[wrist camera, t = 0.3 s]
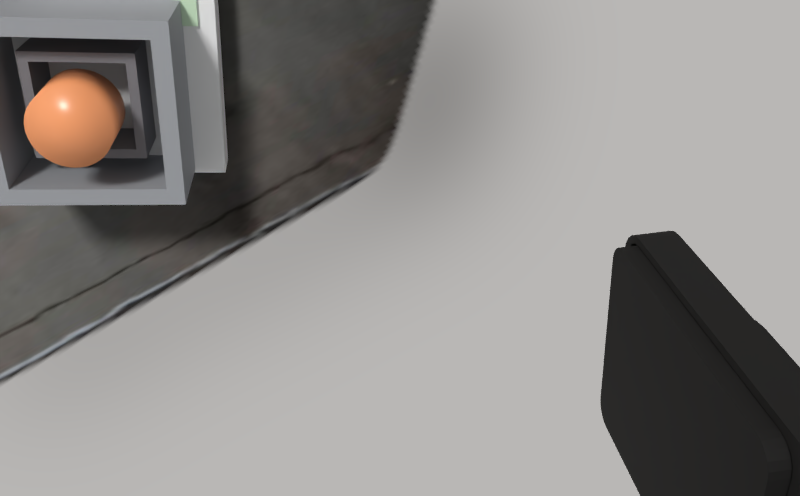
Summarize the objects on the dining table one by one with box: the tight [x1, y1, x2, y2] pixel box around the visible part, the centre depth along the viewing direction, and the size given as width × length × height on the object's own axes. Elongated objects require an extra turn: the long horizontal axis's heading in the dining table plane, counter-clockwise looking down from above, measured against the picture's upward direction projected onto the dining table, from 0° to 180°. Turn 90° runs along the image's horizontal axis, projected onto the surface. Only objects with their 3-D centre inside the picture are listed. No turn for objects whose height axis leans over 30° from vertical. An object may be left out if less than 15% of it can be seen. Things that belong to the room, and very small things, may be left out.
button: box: [24, 68, 125, 168], centre depth 37 cm, size 4×4×3 cm
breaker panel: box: [0, 0, 228, 205], centre depth 40 cm, size 12×13×6 cm
